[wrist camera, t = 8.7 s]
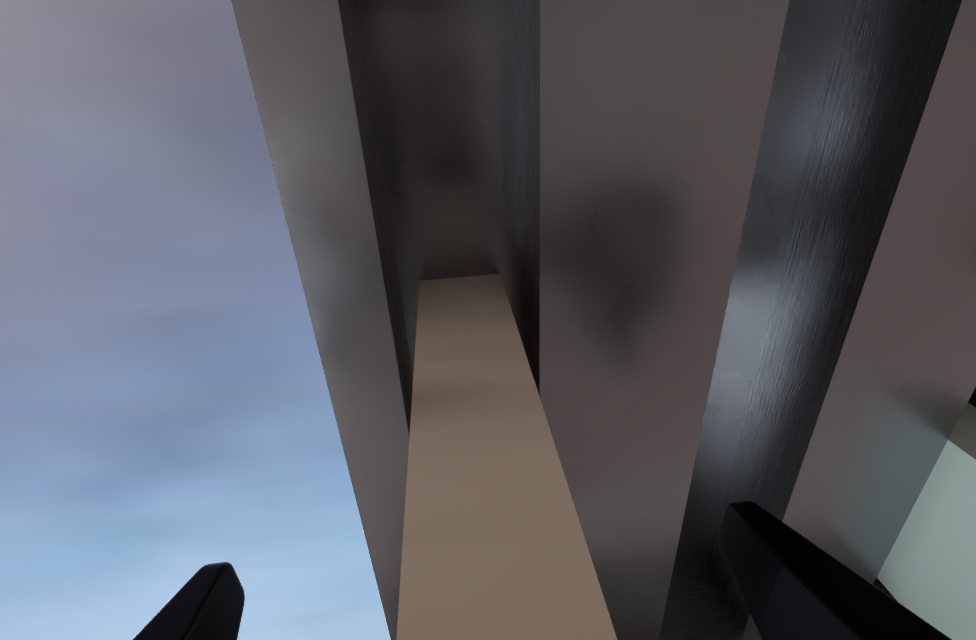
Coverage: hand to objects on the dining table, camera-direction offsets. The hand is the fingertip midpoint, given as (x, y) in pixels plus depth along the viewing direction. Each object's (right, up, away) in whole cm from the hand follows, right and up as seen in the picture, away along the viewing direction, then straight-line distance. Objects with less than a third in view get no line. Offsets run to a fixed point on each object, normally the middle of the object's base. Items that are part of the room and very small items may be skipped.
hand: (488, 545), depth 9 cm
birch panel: (-1, +2, +5) cm, 5 cm away
